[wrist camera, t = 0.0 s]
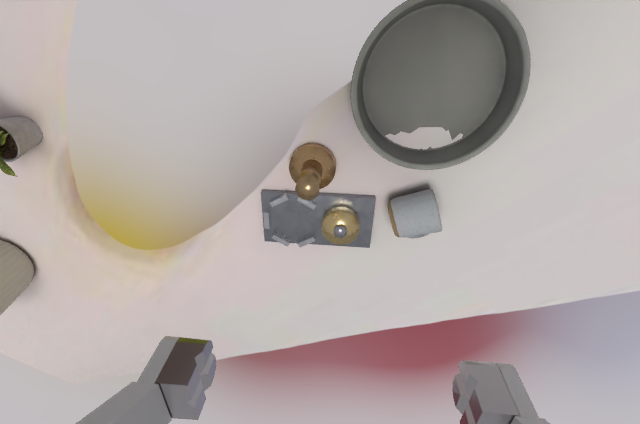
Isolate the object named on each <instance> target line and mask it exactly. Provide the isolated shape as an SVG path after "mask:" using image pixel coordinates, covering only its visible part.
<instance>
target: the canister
mask: <svg viewBox="0 0 640 424" xmlns="http://www.w3.org/2000/svg"><path fill="white" fill-rule="evenodd" d="M33 275H34V266H33V265H32V262H31V260H30V259H29V258H28V256H27V255H26V254H25V253H24V252H23V251H22V250H20V249H19V248H18V247H16V246H14V245H12V244H10V243H7V242H6V241H2V240H0V315H1V314H2V313H3V312H4V311H5V310H6V309H7V308H8V307H9V306H10V305H11V304H12V302H13V301H14V300H15V299H16V298H17V297H18V296H19V295H20V294H21V293H22V292H23V290H24V289H25V288H26V287H27V286H28V285H29V283H30V282H31V280H32V278H33Z"/></svg>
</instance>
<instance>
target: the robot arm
mask: <svg viewBox="0 0 640 424" xmlns="http://www.w3.org/2000/svg"><path fill="white" fill-rule="evenodd" d="M212 349H213V345H212V341H211V340H201V339H191V338H181V337H170V336H165V337H164V338H163V339H162V340H161V342H160V343H159V345H158V347H157V348H156V350H155V352H154V354H153V355H152V357H151V359H150V360H149V362H148V364H147V366H146V367H145V369H144V371H143V372H142V374H141V376H140V378H139V379H138V381H137V382H132V383H131V384H129V385H128V386H126V387H125V388H123V389H122V390H121V391H119V392H118V393H117V394H115V395H114V396H113V397H112V398H110V399H109V400H107V401H106V402H105V403H103V404H102V405H100V406H99V407H98V408H96V409H95V410H94V411H93V412H91V413H90V414H88V415H87V416H86V417H84V418H83V419H82V420H80V421H79V422H77V423H76V424H168V423H169V422H170V421H171V418H178V419H195V420H198V418H199V415H200V413H201V410H202V408H203V405H204V403H205V400H206V397H205V394H204V391H205V390H206V389H207V388H208V387H210V386H211V384H212V381H213V378H214V374H215V369H216V358H215V355H214V354H212V353H211V351H212ZM458 368H459V372H460V373H459V374H457V375H456V376H455V377H454V380H453V398H454V402H455V406H456V408H457V409H458V410H459V411H460V412H461V413H462V415H463V416H462V418H461V420H460V424H549V423H548V422H547V421H546V420H545V419H542V418H539V417H538V415H537V413H536V410H535V408H534V406H533V404H532V402H531V400H530V398H529V396H528V394H527V392H526V390H525V388H524V385H523V383H522V381H521V379H520V377H519V375H518V373H517V371H516V368H515V367H514V366H513V365H511V364H499V363H493V362H478V361H461V362H460V364H459V367H458Z"/></svg>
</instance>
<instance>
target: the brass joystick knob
mask: <svg viewBox="0 0 640 424" xmlns="http://www.w3.org/2000/svg"><path fill="white" fill-rule="evenodd" d="M335 169H336V162H335V158H334V156H333V154H332V152H331V151H330V150H329V149H328V148H326V147H325V146H323V145H321V144H317V143H307V144H304V145H302V146H300V147H299V148H298V149H297V150H296V151H295V152H294V154H293V155H292V158H291V161H290V164H289V171H290V174H291V177H292V179H293V180H294V181H295V182H296V183H297V184H296V188H295V190H296V194H297V195H298V197H300V198H301V199H303V200H313V199H315V198H316V197H317V196H318V193H319V189H321V188H324V187H325V186H327V185H328V184H329V183H330V182H331V181H332V180H333V178H334V175H335Z"/></svg>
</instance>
